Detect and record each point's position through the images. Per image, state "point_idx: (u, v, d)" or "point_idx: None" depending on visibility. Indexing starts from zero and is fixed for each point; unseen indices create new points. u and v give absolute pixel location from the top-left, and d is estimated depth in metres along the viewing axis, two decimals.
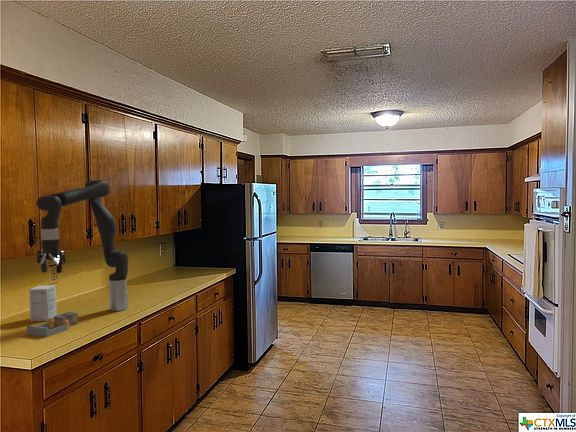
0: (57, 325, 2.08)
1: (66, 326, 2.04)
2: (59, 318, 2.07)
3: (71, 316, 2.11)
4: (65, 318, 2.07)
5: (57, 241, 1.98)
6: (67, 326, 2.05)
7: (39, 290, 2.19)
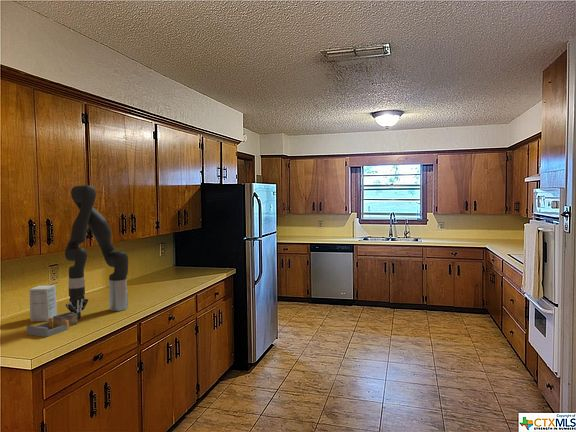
0: (56, 325, 2.07)
1: (66, 326, 2.04)
2: (58, 318, 2.07)
3: (70, 316, 2.10)
4: (64, 318, 2.07)
5: None
6: (67, 326, 2.05)
7: (39, 290, 2.18)
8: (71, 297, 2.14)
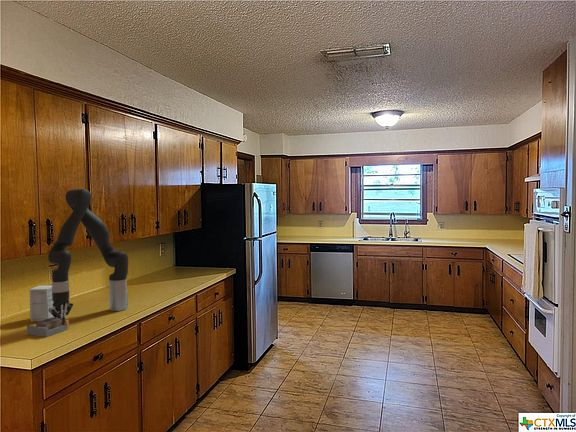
0: None
1: (66, 326, 2.04)
2: (42, 324, 1.97)
3: (55, 322, 2.01)
4: (48, 324, 1.98)
5: None
6: (67, 326, 2.05)
7: (39, 290, 2.19)
8: (54, 302, 2.05)
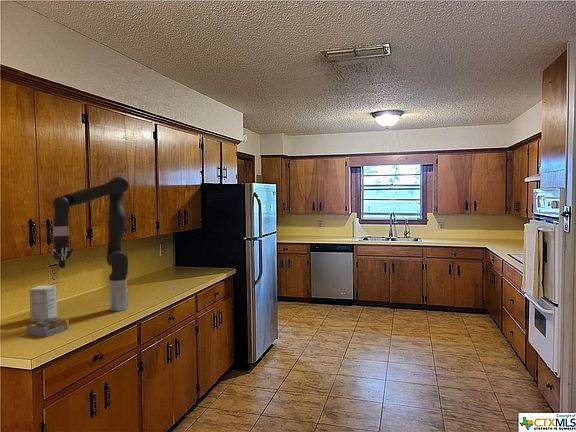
0: None
1: (66, 326, 2.04)
2: (41, 324, 1.97)
3: (54, 322, 2.01)
4: (47, 324, 1.97)
5: None
6: (67, 326, 2.05)
7: (39, 290, 2.19)
8: (55, 244, 2.19)
